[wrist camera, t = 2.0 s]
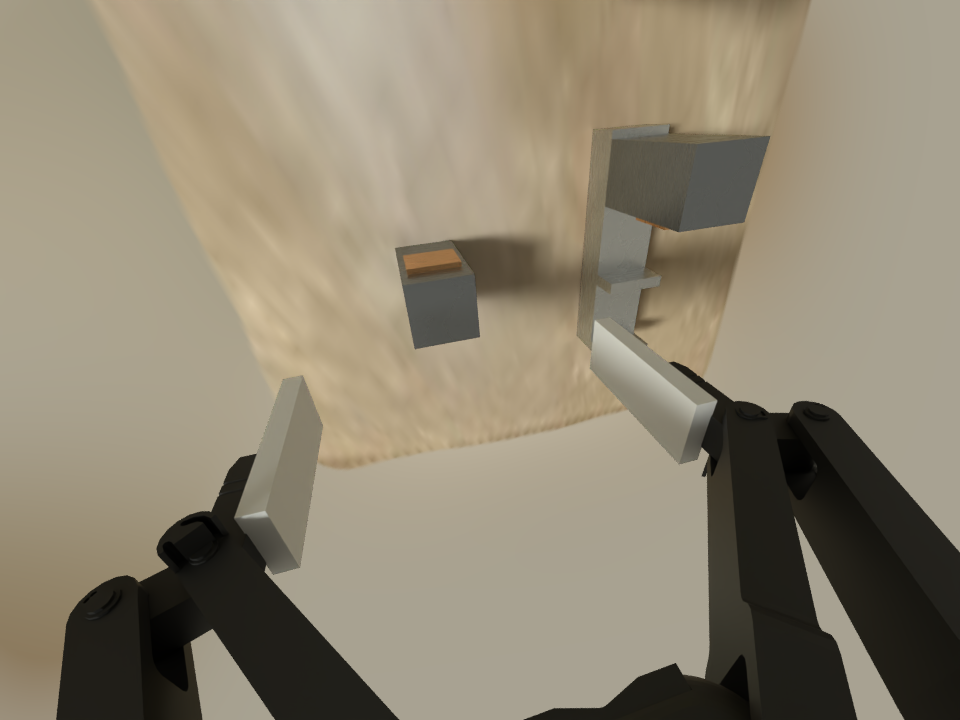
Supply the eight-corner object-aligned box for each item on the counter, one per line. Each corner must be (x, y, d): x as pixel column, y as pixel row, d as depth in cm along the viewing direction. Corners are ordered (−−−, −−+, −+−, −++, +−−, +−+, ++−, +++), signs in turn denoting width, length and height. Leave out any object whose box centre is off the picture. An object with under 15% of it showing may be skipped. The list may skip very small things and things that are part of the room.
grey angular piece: (593, 129, 25) (700, 131, 17) (646, 124, 26) (773, 123, 18) (576, 335, 34) (642, 402, 26) (616, 327, 35) (693, 390, 26)
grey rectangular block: (394, 243, 26) (401, 280, 20) (450, 235, 27) (474, 269, 21) (405, 300, 28) (414, 349, 22) (456, 292, 29) (480, 336, 23)
